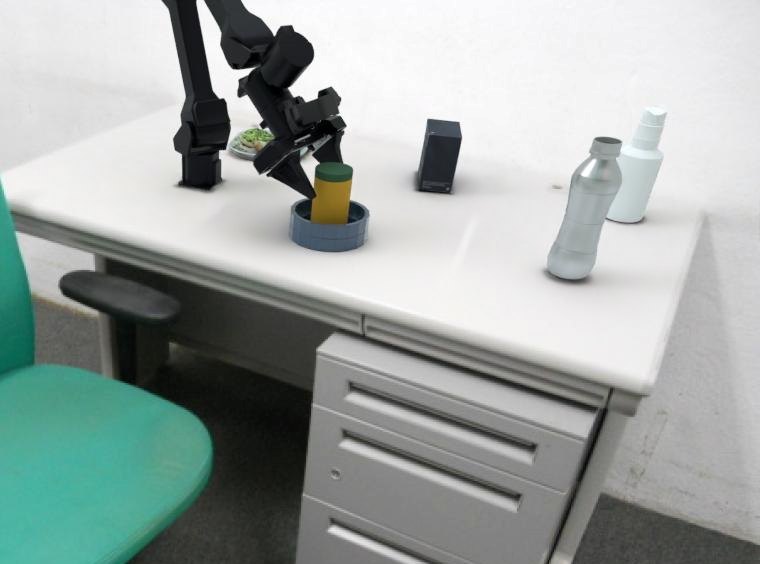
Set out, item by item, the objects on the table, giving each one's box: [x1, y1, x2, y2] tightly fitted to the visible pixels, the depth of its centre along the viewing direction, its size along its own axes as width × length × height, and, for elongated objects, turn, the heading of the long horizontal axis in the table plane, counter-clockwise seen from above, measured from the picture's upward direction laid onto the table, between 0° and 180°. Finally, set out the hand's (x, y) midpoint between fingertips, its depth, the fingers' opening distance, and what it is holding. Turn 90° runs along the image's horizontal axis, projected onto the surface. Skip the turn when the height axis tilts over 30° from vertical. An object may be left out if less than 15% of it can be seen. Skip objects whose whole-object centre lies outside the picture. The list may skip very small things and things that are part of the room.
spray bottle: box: [605, 106, 669, 223], centre depth 130 cm, size 7×7×18 cm
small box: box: [416, 118, 463, 194], centre depth 144 cm, size 11×6×10 cm, turn 168°
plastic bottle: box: [546, 136, 623, 280], centre depth 110 cm, size 6×7×20 cm
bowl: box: [288, 197, 371, 253], centre depth 123 cm, size 12×12×5 cm
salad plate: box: [227, 127, 309, 161], centre depth 159 cm, size 19×18×5 cm
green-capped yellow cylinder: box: [311, 162, 354, 225], centre depth 121 cm, size 6×6×11 cm
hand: (330, 190), depth 120 cm, fingers open, 9 cm apart
